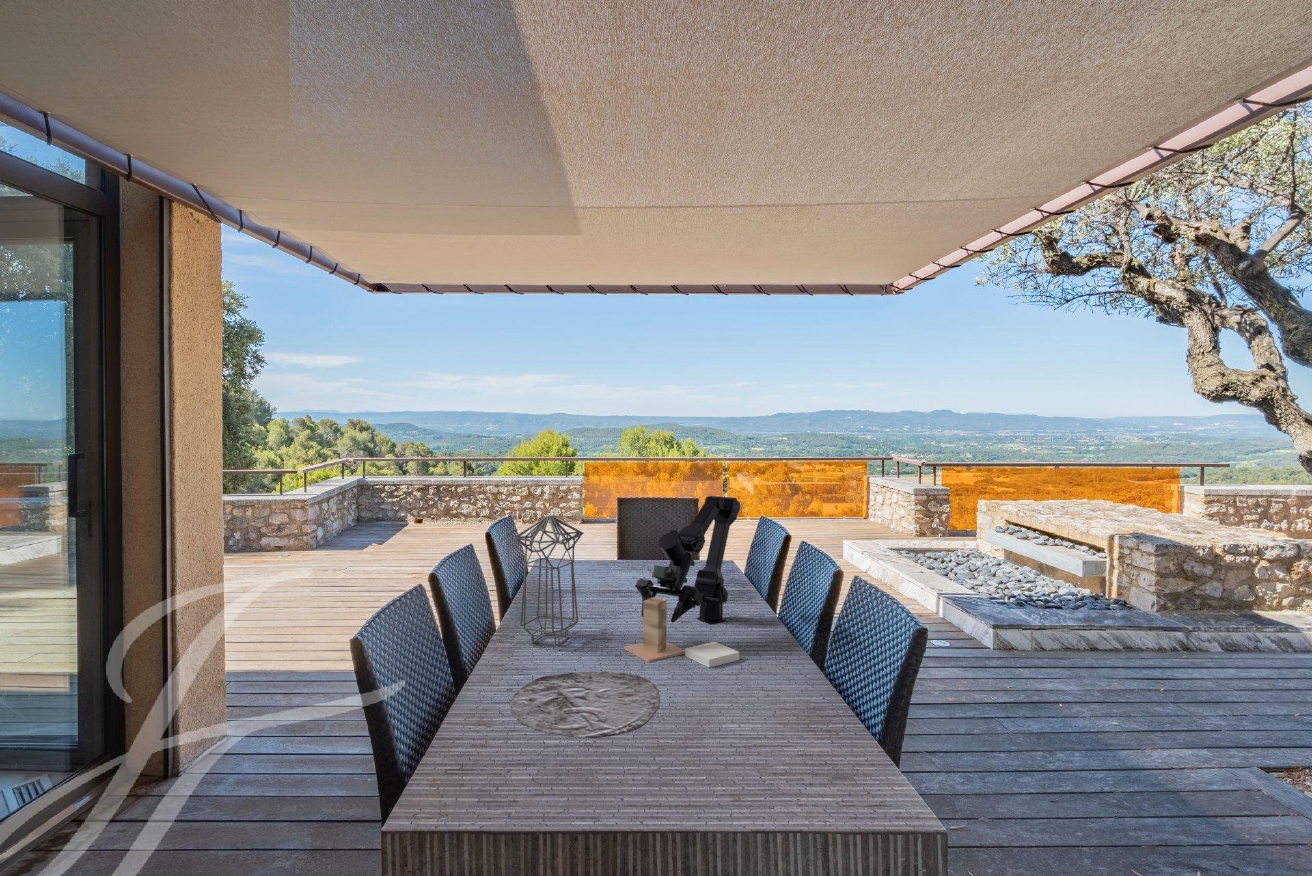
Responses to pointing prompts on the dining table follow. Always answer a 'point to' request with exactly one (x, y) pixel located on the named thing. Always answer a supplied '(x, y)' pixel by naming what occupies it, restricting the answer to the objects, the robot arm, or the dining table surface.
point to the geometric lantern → (540, 527)
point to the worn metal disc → (586, 704)
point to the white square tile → (712, 654)
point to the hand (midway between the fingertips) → (657, 619)
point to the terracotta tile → (652, 656)
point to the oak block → (654, 624)
